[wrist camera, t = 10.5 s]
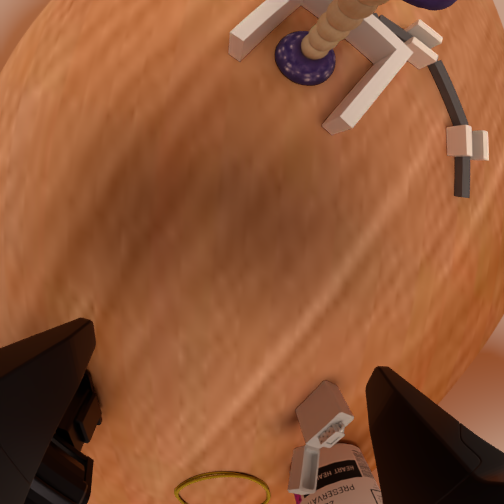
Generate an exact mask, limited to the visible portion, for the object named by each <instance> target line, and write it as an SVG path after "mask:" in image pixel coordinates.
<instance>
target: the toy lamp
mask: <svg viewBox="0 0 504 504" xmlns="http://www.w3.org/2000/svg"><path fill="white" fill-rule="evenodd" d="M387 1H389V0H334V1H332V2H331V3H330V4H329V6H328V8H327V11H326V12H325V13H323V14H322V15H321V16H320V17H319V19H318V21H317V24H315V25H314V26H313V27H312V28H311V29H310V31H309V32H308V31H298V32H293V33H291V34H288V35H287V36H285V37H284V38H283V39H282V40H281V41H280V42H279V44H278V45H277V47H276V50H275V60H276V63H277V66H278V67H279V69H280V70H281V72H282V73H283V74H284V75H285V76H286V77H287V78H289V79H290V80H292V81H293V82H295V83H298V84H301V85H317V84H320V83H322V82H324V81H325V80H327V79H328V78H329V77H330V76H331V74H332V73H333V71H334V68H335V54H334V51H333V48H334V47H336V46H337V44H338V43H339V41H341V40H343V39H345V38H346V37H347V36H348V35H349V33H350V31H351V30H353V29H355V28H357V27H358V26H359V25H360V24H361V23H362V21H363V19H364V18H367V17H369V16H370V15H372V14H373V13H374V12H375V11H376V9H377V7H378V6H379V5H382V4H384V3H386V2H387ZM403 1H405V2H407V3H409V4H411V5H414V6H416V7H419V8H424V9H428V10H442V9H445V8H447V7H449V6H451V5H452V4H453V3H454V2H456V1H457V0H403Z"/></svg>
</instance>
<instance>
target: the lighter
mask: <svg viewBox="0 0 504 504" xmlns="http://www.w3.org/2000/svg"><path fill="white" fill-rule="evenodd" d="M295 411H296V414H297V418H298V421H299V424H300V427H301V430H302V433H303V436H304V439H305V443H306V445H304V446H301V447H297V448H295V449H294V450H293V457H292V464H291V471H290V478H289V485H288V491H289V492H290V493H295V494H300V495H306V494H313V493H315V492H316V485H317V476H318V466H319V456H320V450H319V448H322V447H326V448H331V447H332V446H333V445H334V444H335V443H337V442H338V441H339V440H340V439H341V438H342V437H343V436H345V434H344V428H345V427H346V426H347V425H348V424H349V423H350V422H351V421H352V420H353V419H354V416H353V414H352V413H351V411H350V409H349V407H348V405H347V403H346V401H345V399H344V398H343V396H342V394H341V392H340V390H339V388H338V386H337V385H335V384H333V383H331V382H329V381H327V380H325V381H323V382H322V383H321V384H320V385H319V386H318V387H317V388H316V389H315V390H314V391H313V392H312V393H311V395H310V396H309V397H308V398H307V399H306V400H305V401H304V402H303V403H302V404H301V405H300V406H299V407H298V408H297V409H295Z"/></svg>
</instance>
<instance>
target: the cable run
mask: <svg viewBox="0 0 504 504" xmlns="http://www.w3.org/2000/svg"><path fill="white" fill-rule="evenodd" d="M373 15H374V16H375V17H376V18H378V19H379V20H380V21H381V22H382V23H383V24H384V25H385V26H387V27H388V28H389V29H390V30H391V31H392V32H393V33H394V34H395V35H396V36H397V37H398V38H399V39H400V40H401V41H402V42H403V43H404V42H406V41H407V40H409V39H410V38H412V37H413V36H412V35H410V34H409V33H408V32H406V31H405V30H403V29H402V28H401V27H399V26H398V25H396V24H395V23H393V22H392V21H390V20H389V19H387V18H386V17H384V16H383V15H380V16H379V17H378V15H377V13H373ZM437 60H438V58H437ZM427 66H428V67H429V69H430V71H431V74H432V76H433V78H434V80H435V82H436V84H437V86H438V89H439V91H440V93H441V96H442V98H443V100H444V103H445V105H446V107H447V110H448V112H449V115H450V118H451V120H452V123H453V126H459V125H469V124H468V122H467V119H466V116H465V113H464V111H463V108H462V106H461V103H460V101H459V98H458V96H457V93H456V91H455V89H454V86H453V84H452V82H451V80H450V77H449V75H448V73H447V71H446V69H445V67H444V65H443V63H442V61H441V60H440V61H436V62H434V63H432V64H430V65H427ZM454 196H458V197H465V198H469V196H470V156H457V157H455V192H454Z"/></svg>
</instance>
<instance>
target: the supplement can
mask: <svg viewBox="0 0 504 504" xmlns="http://www.w3.org/2000/svg"><path fill="white" fill-rule="evenodd" d="M319 450H320V456H319V466H318V476H317V485H316V492H315V493H313V494H306V495H300V494H295V493H294V495H295V499H296V504H383V501H382V495H381V491H380V489H379V487H378V485H377V483H376V481H375V479H374V477H373V475H372V473H371V471H370V469H369V467H368V464H367V462H366V460H365V458H364V456H363V454H362V452H361V451H360V449H359V448H358V447H356V446H354V445H352V444H346V443H335V444H334V445H333V446H332V447H331V448H326V447H322V448H319ZM290 471H291V470H290Z"/></svg>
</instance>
